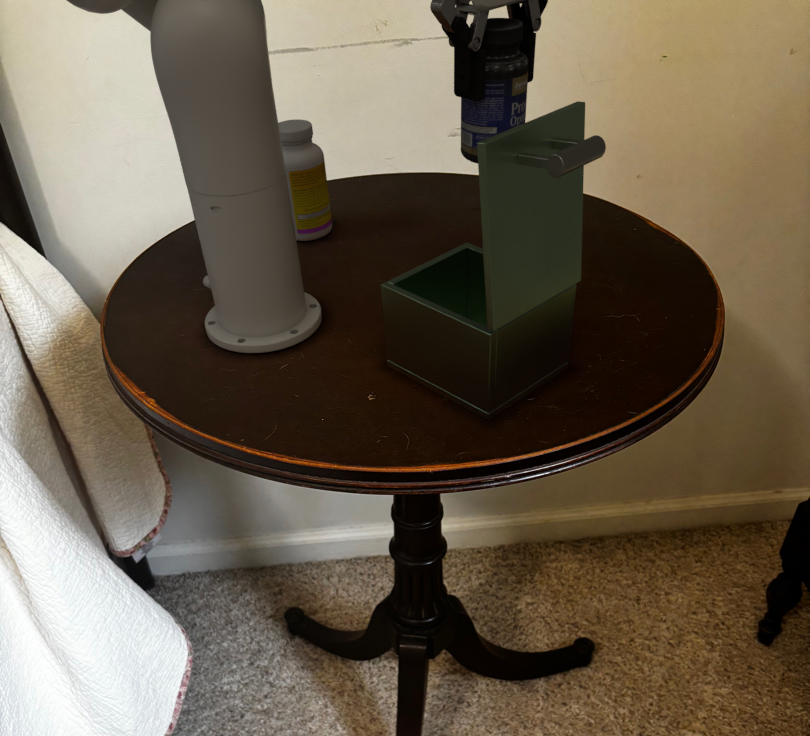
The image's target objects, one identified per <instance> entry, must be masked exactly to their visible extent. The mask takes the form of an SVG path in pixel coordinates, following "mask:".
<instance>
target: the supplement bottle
mask: <svg viewBox="0 0 810 736" xmlns="http://www.w3.org/2000/svg"><path fill="white" fill-rule="evenodd" d="M278 125H279V131H280V138H281V144H282V151H283V157H284V164H285V170H286V175H287V182H288V188H289V195H290V202H291V208H292V215H293V222H294V228H295V235H296V242H308V241H315V240H319V239H320V238H323V237H326V235H328V234H330V232H331V231H332V228H333V218H332V217H333V216H332V210H331V202H330V201H331V200H330V195H329V186H328V185H329V184H328V179H327V178H328V177H327V169H326V161H325V153H324V151H323V149H322V148H321V147H320V145H318V144H316V143H315V142H313V136H314V130H313V124H312V121H309V120H307V119H287V120H282V121H278Z"/></svg>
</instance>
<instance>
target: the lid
mask: <svg viewBox="0 0 810 736" xmlns="http://www.w3.org/2000/svg"><path fill="white" fill-rule="evenodd" d="M585 131H586V102H585V101H579V100H578V101H575V102H572V103H569V104H568V105H565V106H562V107H561V108H558V109H555V110H554V111H551V112H548V113H546V114H543V115H541V116H538V117H536V118H534V119H532V120H528V121H525V123H524V124H521V125H519V126H516V127H514V128H512V129H509V130H507V131H504V132H502V133H499V134H497V135H495V136H492V137H490V138H487V139H485V140H482V141H480V142H478V143H477V152H478V163H477V166H478V169H477V170H478V186H479V201H480V202H479V204H480V220H481V221H480V223H481V237H482V249H483V258H484V276H485V294H486V311H487V328H488V329H490V330H493V331H495V330H497V329H499V328H500V327H502V326H504V325H505V324H507V323H509V322H511V321H512V320H514V319H516V318H517V317H519V316H521V315H523V314H524V313H526V312H528V311H530V310H531V309H533V308H535V307H536V306H538V305H540V304H542V303H543V302H545V301H547V300H548V299H550V298H552V297H554V296H555V295H557V294H559V293H560V292H562V291H564V290H566V289H567V288H569V287H571V286H572V285H574V284H576V285H577V284H578V283H579V282H581V281H582V261H583V260H582V255H583V254H582V253H583V218H584V217H583V216H584V215H583V214H584V213H583V212H584V211H583V210H584V174H585V173H584V172H585V166H586V165H588V164H590V163H592V162H594V161H596V160H598V159H601V158H602V157H603V156H604V155H605V153H606V148H607V147H606V146H607V145H606V141H605V140H604V138H603V137H602V136H601V135H592V136H590V137H588V138H586V139H585V136H586V135H585V133H586V132H585Z"/></svg>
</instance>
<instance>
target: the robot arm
mask: <svg viewBox="0 0 810 736" xmlns="http://www.w3.org/2000/svg"><path fill="white" fill-rule="evenodd" d="M66 1H67V2H68V3H70V4H71V5H73V6H74V7H76V8H78V9H80V10H83V11H85V12H88V13H93V14H100V15H103V14H104V15H106V14H107V15H108V14H113V13H116V12H119V11H120V10H121V11H122V12H123V13H125V14H127V16H129V17H130V18H132V19H133V20H135V22H137V23H138V24H139V25H141V26H142V27H143V28H145V29H146V30H148V31H149V32H150V34H149V36H150V37H149V38H150V39H149V40H150V54H151V58H152V59H151V61H152V66H153V70H154V75H155V77H156V81H157V85H158V87H159V91H160V95H161V98H162V101H163V105H164V108H165V110H166V113H167V118H168V121H169V124H170V128H171V130H172V134H173V137H174V141H175V145H176V149H177V154H178V157H179V161H180V162H179V163H180V165H181V170H182V173H183V179H184V182H185V186H186V189H187V193H188V197H189V202H190V205H191V211H192V214H193V219H194V222H195V223H194V224H195V227H196V231H197V235H198V239H199V243H200V248H201V253H202V256H203V257H202V258H203V260H204V264H205V269H206V273H207V275H205V276H204V277H203V279H202V284H203V285H204V287H207V288H208V289H209V290H211V294H212V295H211V296H212V298H213V303H214V305H213V306H212V308H211V309H210V310H209V311H208V312H207V314H206V316H205V319H204V328H205V332H206V335H207V338H208V339H209V340H210V341H211V342H212V343H213V344H214V345H216V346H218V347H219V348H222V349H225V350H227V351H230V352H235V353H242V354H264V353H271V352H275V351H280V350H284V349H287V348H290V347H293V346H296V345H298V344H300V343H301V342H303V341H305V340H307V339H308V338H309V337H311V336H312V335H313V334H314V333H315V332H316V331H317V330H318V329H319V327H320V326H321V324H322V320H323V312H322V307H321V304H320V302H319V301H318V300H317V299H316V297H314V296H313V295H312V294H310V293H307V292H306V291H305V290H304V289H305V288H304V282H303V276H302V275H303V274H302V270H301V269H302V268H301V263H300V255H299V249H298V243H297V242H298V241H297V240H296V235H295V228H294V222H293V215H292V208H291V202H290V195H289V188H288V182H287V175H286V170H285V164H284V157H283V151H282V144H281V138H280V131H279V125H278V123H279V119H278V113H277V107H276V100H275V93H274V86H273V79H272V70H271V61H270V52H269V46H268V31H267V21H266V20H267V19H266V13H265V12H266V11H265V9H264V5H263V2H262V0H66ZM548 1H549V0H431V2H430V6H429V7H430V8H429V9H430V11H431V14H432V15H433V17H434V18H435V19H436V21H437V22H438V23H439V25H441V29H442V31H443V32H444V34H445V35H446V37H447V39H448V45H449V46H450V47H452V48H453V93H454V95H455V97H458V98H460V99H461V98H465V99H469V100H473V101H481V100H483V99H484V96H485V70H486V50H485V49H480V47H481V43H482V39H483V35H484V31H485V27H486V23H487V19H488V18H489V14H490V11H493V10H496V9H499V8H504V7H506V10H507V16H508V17H507V18H512V19H516V20H520V21H522V23H523V38H522V40H521V42H520V44H519V50H520V51H521V52H523V53H524V54H525V55H526V57H527V59H528V62H529V66H528V83H531V82H532V81H533V80H534V75H535V74H534V73H535V56H536V41H537V32H539V30H540V29H541V27H542V15H543V13H544V11H545V9H546V8H547V6H548V3H549V2H548ZM469 16H473V18H472V22H471V23H472V27H471V29H470V25H469V24H468V23H467V22H468V21H467V20H468V18H469Z"/></svg>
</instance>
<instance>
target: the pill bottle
mask: <svg viewBox="0 0 810 736" xmlns="http://www.w3.org/2000/svg"><path fill="white" fill-rule="evenodd" d="M469 27H470V29H471V27H472V22H471V23H470V25H469ZM522 38H523V23H522V21H520V20H516V19H512V18H509V17H488V19H487V23H486V27H485V31H484V35H483V39H482V43H481V47H480V49H485V50H486V70H485V96H484V99H483V100H481V101H473V100H469V99H465V98H461V97H460V152H461V153H460V154H461V155H462V156H463V158H464V159H466V160H467V161H470V162H471V163H474V164H478V152H477V143H478V142H480V141H482V140H485V139H487V138H490V137H492V136H495V135H497V134H499V133H502V132H504V131H507V130H509V129H512V128H514V127H516V126H519V125H521V124H524V123H526V117H527V103H528V102H527V98H528V84H529V82H528V66H529V62H528V59H527V57H526V55H525V54H524V53H523V52H521V51H520V50H519V44H520V42H521V40H522Z"/></svg>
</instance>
